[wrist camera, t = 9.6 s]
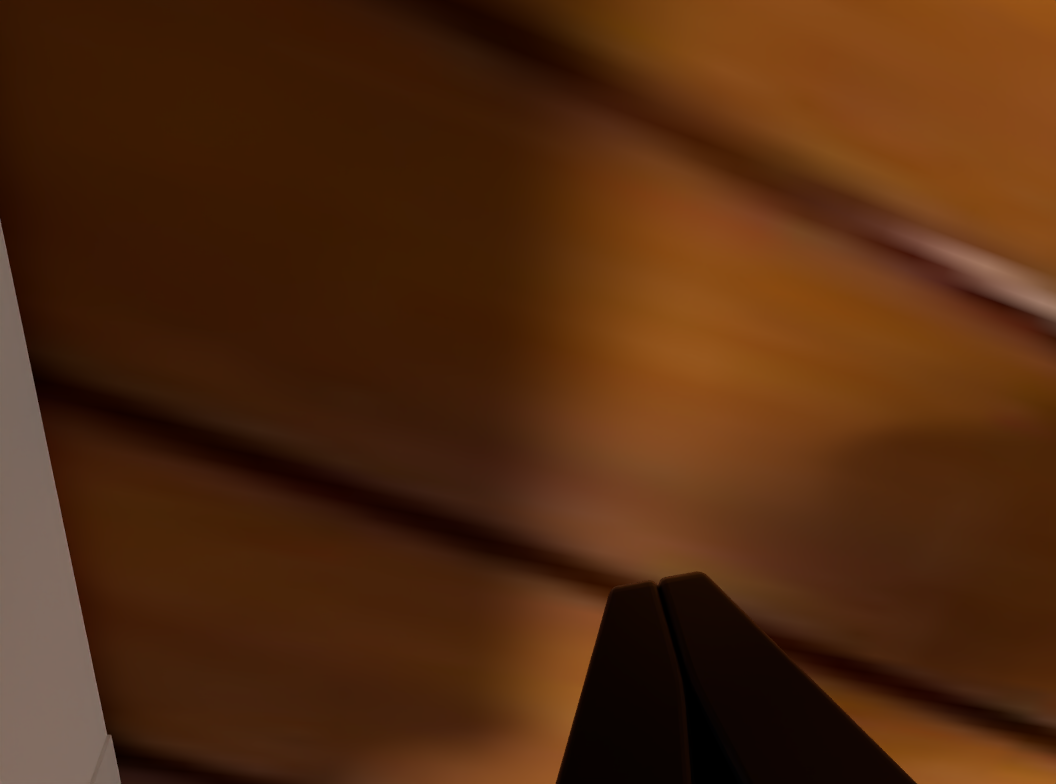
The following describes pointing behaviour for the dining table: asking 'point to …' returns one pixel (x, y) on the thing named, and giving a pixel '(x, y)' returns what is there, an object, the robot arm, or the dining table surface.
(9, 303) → the long white bar
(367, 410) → the dining table surface
